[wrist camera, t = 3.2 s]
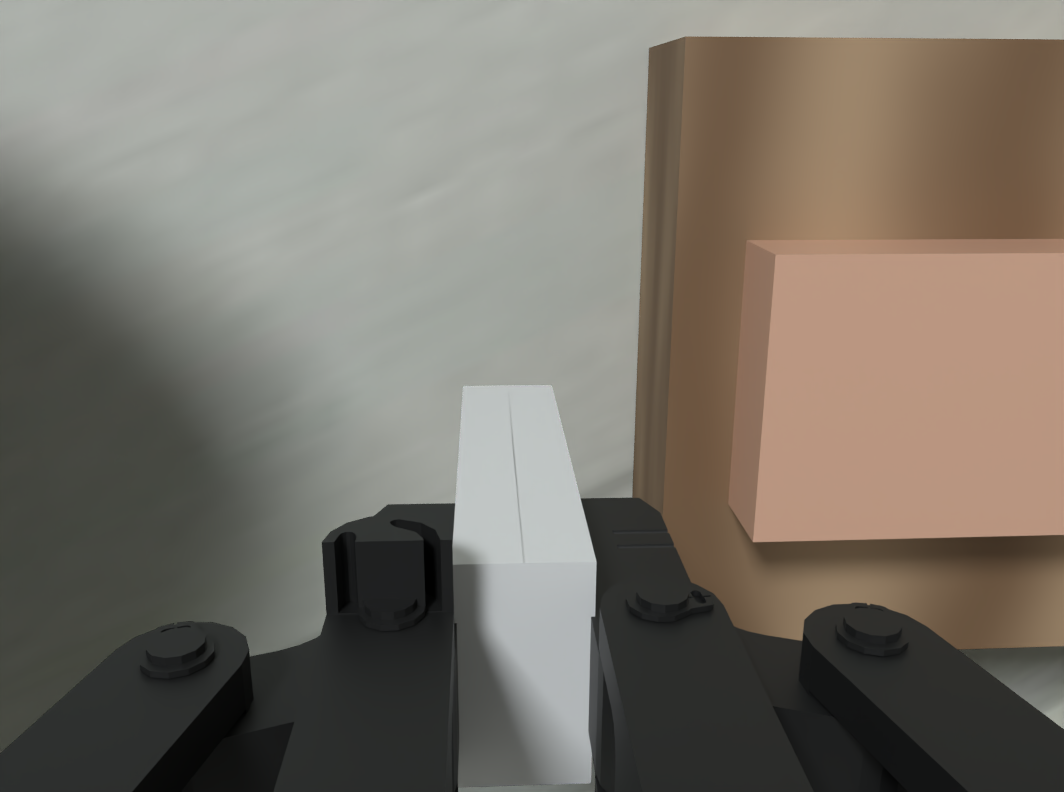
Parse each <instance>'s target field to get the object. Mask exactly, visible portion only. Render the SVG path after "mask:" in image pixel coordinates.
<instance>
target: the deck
mask: <svg viewBox="0 0 1064 792" xmlns="http://www.w3.org/2000/svg"><path fill="white" fill-rule="evenodd" d="M915 239H1064V40H1042V39H919V38H796V37H683V38H680V39H677V40H673V41H670V42H667V43H664V44H661V45H657V46H654V47H651V48H649V70H648V97H647V123H646V150H645V177H644V203H643V230H642V257H641V283H640V310H639V337H638V363H637V390H636V417H635V443H634V470H633V497H632V498H640V499H642V500H643V501H644V502H646V503H647V504H649V505H650V506H652V507H653V508H655V509H656V510H657V511H659V512H660V513H661V516H662V518H663V520H664V522H665V525H666V527H667V529H668V533H669V534H670V536H671V538H672V540H673V543H674V547H676V549H677V552H678V554H679V556H680V559H681V561H682V563H683V565H684V568H685V570H686V572H687V574H688V577H689V579H690V581H691V583H694V584H697V585H699V586H701V587H702V588H704V589H706V590H708V591H710V592H712V593H714V595H715V596H716V597H717V598H718V599H719V600H720V601H721V602H722V604H723V605H724V607H725V609H726V611H727V613H728V615H729V617H730V619H731V621H732V623H733V625H734V627H737V628H740V629H743V630H746V631H749V632H754V633H758V634H763V635H768V636H774V637H781V638H787V639H794V640H800V641H802V638H803V627H804V620H805V619H806V618H807V617H808V616H809V615H810V614H811V613H812V612H813V611H814V610H817V609H820V608H823V607H826V606H830V605H833V604H851V603H855V602H857V603H867V605H870V604H875V605H880V606H884V607H886V608H888V609H890V610H893V611H896V612H899V613H902V614H905V615H908V616H909V617H911V618H913V619H915V620H916V621H918V622H920V623H922V624H923V625H925V626H927V627H928V628H930V629H931V630H932V631H934V632H935V633H936V634H938V635H939V636H940V637H942V638H943V639H944V640H946V641H947V642H948V643H950V644H951V645H952V646H954V647H955V648H956V649H986V648H1018V647H1050V646H1064V535H1035V536H993V537H951V538H910V539H868V540H827V541H785V542H752V540H751V538H750V537H749V535H748V534H747V532H746V531H745V529H744V528H743V526H742V524H741V523H740V521H739V520H738V518H737V517H736V515H735V514H734V512H733V510H732V509H731V507H730V506H729V504H728V500H729V485H730V471H731V456H732V442H733V428H734V413H735V399H736V385H737V370H738V356H739V342H740V327H741V313H742V298H743V284H744V270H745V255H746V241H747V240H915Z"/></svg>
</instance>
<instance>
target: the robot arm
mask: <svg viewBox="0 0 1064 792" xmlns="http://www.w3.org/2000/svg"><path fill="white" fill-rule="evenodd" d="M322 552H323V567H324V582H325V597H326V612H327V615H326V619H325V622H324V625H323V629H322V632H321V635H320V636H319V637H317V638H315V639H313V640H311V641H308V642H306V643H303V644H301V645H299V646H295V647H291V648H288V649H284V650H280V651H276V652H271V653H266V654H261V655H256V656H251V657H250V655H249V648H248V644H247V640H246V637H245V636H244V635H243V634H241V633H240V632H238V631H237V630H236V629H234V628H233V627H229V626H225V625H221V624H217V623H213V622H192V621H188V622H179V623H177V624H176V625H174V623H173V624H169V625H165V626H161V627H158V628H157V629H155V630H153V631H150V632H147V633H145V634H142V635H139V636H137V637H135V638H133V639H132V640H130V641H129V642H127V643H126V644H124V645H123V646H121V647H120V648H118V649H117V650H115V651H114V652H113V653H112V654H111V655H110V656H109V657H107V658H106V659H105V660H104V661H103V662H102V663H101V664H100V665H99V666H97V667H96V668H95V669H94V670H93V671H92V672H91V673H90V674H88V675H87V676H86V677H85V678H84V679H83V680H82V681H81V682H80V683H78V684H77V685H76V686H75V687H74V688H73V689H72V690H71V691H70V692H68V693H67V694H66V695H65V696H64V697H63V698H62V699H61V700H59V701H58V702H57V703H56V704H55V705H54V706H53V707H52V708H51V709H49V710H48V711H47V712H46V713H45V714H44V715H43V716H42V717H40V718H39V719H38V720H37V721H36V722H35V723H34V724H33V725H32V726H30V727H29V728H28V729H27V730H26V731H25V732H24V733H23V734H21V735H20V736H19V737H18V738H17V739H16V740H15V741H14V742H13V743H11V744H10V745H9V746H8V747H7V748H6V749H5V750H4V751H3V752H1V753H0V792H458V787H490V786H521V785H553V784H584V783H591V761H592V756H593V762H594V768H595V792H1064V729H1063V728H1061V727H1060V726H1059V725H1057V724H1056V723H1055V722H1053V721H1052V720H1051V719H1049V718H1048V717H1047V716H1045V715H1044V714H1043V713H1041V712H1040V711H1039V710H1037V709H1036V708H1035V707H1033V706H1032V705H1031V704H1029V703H1028V702H1027V701H1025V700H1024V699H1023V698H1021V697H1020V696H1019V695H1017V694H1016V693H1015V692H1013V691H1012V690H1011V689H1009V688H1008V687H1007V686H1005V685H1004V684H1003V683H1001V682H1000V681H999V680H997V679H996V678H995V677H993V676H992V675H991V674H989V673H988V672H987V671H985V670H984V669H983V668H981V667H980V666H979V665H977V664H976V663H975V662H973V661H972V660H971V659H970V658H968V657H967V656H966V655H964V654H963V653H962V652H960V651H959V650H958V649H956V648H955V647H954V646H952V645H951V644H950V643H948V642H947V641H946V640H944V639H943V638H942V637H940V636H939V635H938V634H936V633H935V632H934V631H932V630H931V629H930V628H928V627H927V626H925V625H923V624H922V623H920V622H918V621H916V620H915V619H913V618H911V617H909V616H908V615H905V614H902V613H899V612H896V611H893V610H890V609H888V608H886V607H884V606H880V605H875V604H870V605H867V603H857V602H855V603H851V604H833V605H830V606H826V607H823V608H820V609H817V610H814V611H813V612H812V613H811V614H810V615H809V616H808V617H807V618H806V619H805V620H804V627H803V638H802V641H800V640H794V639H787V638H781V637H774V636H768V635H763V634H758V633H754V632H749V631H746V630H743V629H740V628H737V627H734V625H733V623H732V621H731V619H730V617H729V615H728V613H727V611H726V609H725V607H724V605H723V604H722V602H721V601H720V600H719V599H718V598H717V597H716V596H715V595H714V593H712V592H710V591H708V590H706V589H704V588H702V587H701V586H699V585H697V584H694V583H691V581H690V579H689V577H688V574H687V572H686V570H685V568H684V565H683V563H682V561H681V559H680V556H679V554H678V552H677V549H676V547H674V543H673V540H672V538H671V536H670V534H669V533H668V529H667V527H666V525H665V522H664V520H663V518H662V516H661V513H660V512H659V511H657V510H656V509H655V508H653V507H652V506H650V505H649V504H647V503H646V502H644V501H643V500H642V499H640V498H588V499H581V498H580V495H579V491H578V487H577V483H576V479H575V475H574V471H573V467H572V463H571V459H570V455H569V451H568V447H567V443H566V439H565V435H564V432H563V428H562V424H561V420H560V416H559V412H558V408H557V404H556V400H555V396H554V392H553V388H552V385H513V386H463V395H462V410H461V425H460V440H459V455H458V470H457V485H456V500H455V503H454V504H395V505H387V506H386V507H384V508H383V509H382V510H381V511H380V512H378V513H377V514H376V515H375V516H373V517H367V518H363V519H360V520H356V521H352V522H348V523H346V524H344V525H342V526H340V527H338V528H337V529H335V530H333V531H331V532H330V533H329V534H328V535H327V537H326V538H325V539H324V540H323V542H322Z"/></svg>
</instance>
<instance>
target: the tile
mask: <svg viewBox="0 0 1064 792" xmlns="http://www.w3.org/2000/svg"><path fill="white" fill-rule="evenodd" d="M728 504H729V506H730V507H731V509H732V510H733V512H734V514H735V515H736V517H737V518H738V520H739V521H740V523H741V524H742V526H743V528H744V529H745V531H746V532H747V534H748V535H749V537H750V538H751V540H752V542H785V541H827V540H868V539H910V538H951V537H993V536H1035V535H1064V239H915V240H747V241H746V255H745V270H744V284H743V298H742V313H741V327H740V342H739V356H738V370H737V385H736V399H735V413H734V428H733V442H732V456H731V471H730V485H729V500H728Z"/></svg>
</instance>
